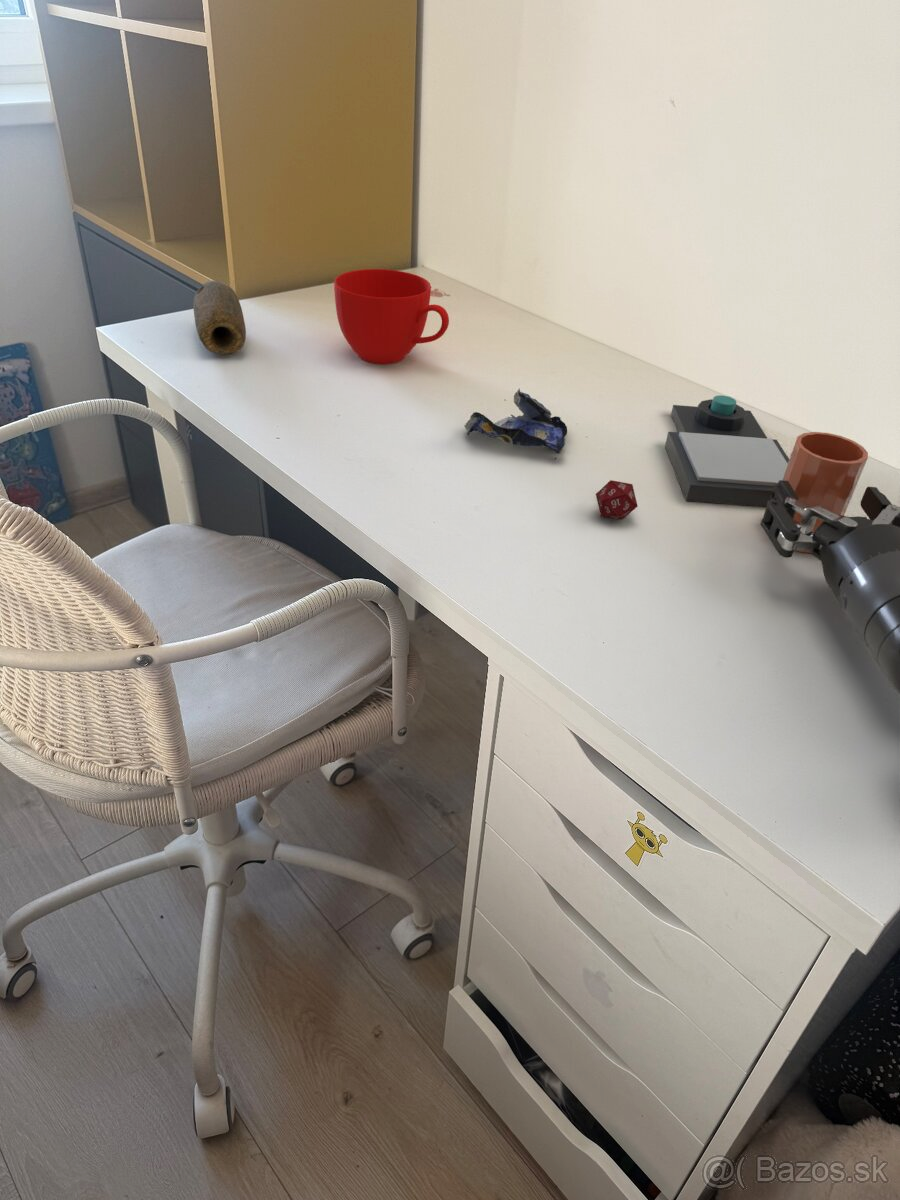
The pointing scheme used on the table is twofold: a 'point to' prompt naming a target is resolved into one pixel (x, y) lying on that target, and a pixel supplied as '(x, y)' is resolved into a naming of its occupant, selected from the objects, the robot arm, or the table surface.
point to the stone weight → (219, 318)
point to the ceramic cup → (384, 313)
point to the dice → (616, 500)
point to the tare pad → (716, 421)
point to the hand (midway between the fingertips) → (823, 491)
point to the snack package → (523, 425)
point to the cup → (825, 471)
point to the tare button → (723, 405)
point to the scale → (726, 467)
